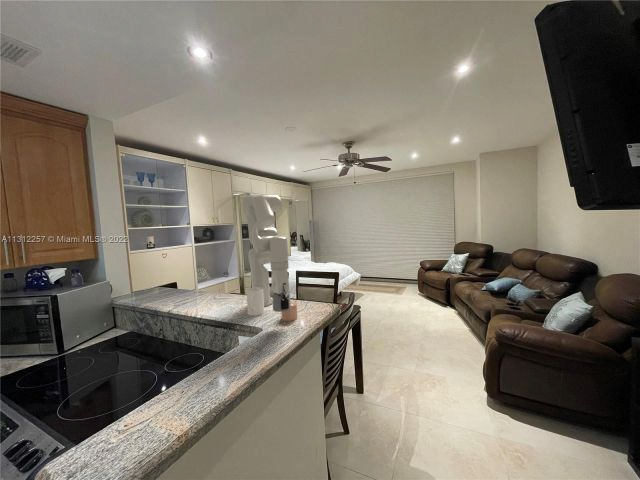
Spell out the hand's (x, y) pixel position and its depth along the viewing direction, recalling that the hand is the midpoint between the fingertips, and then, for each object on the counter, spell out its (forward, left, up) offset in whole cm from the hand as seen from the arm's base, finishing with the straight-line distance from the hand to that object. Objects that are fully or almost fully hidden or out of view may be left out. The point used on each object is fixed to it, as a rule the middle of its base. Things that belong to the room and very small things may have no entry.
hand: (281, 306), depth 108 cm
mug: (-22, -6, -9) cm, 25 cm away
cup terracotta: (-7, +6, -9) cm, 13 cm away
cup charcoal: (0, 0, -1) cm, 1 cm away
